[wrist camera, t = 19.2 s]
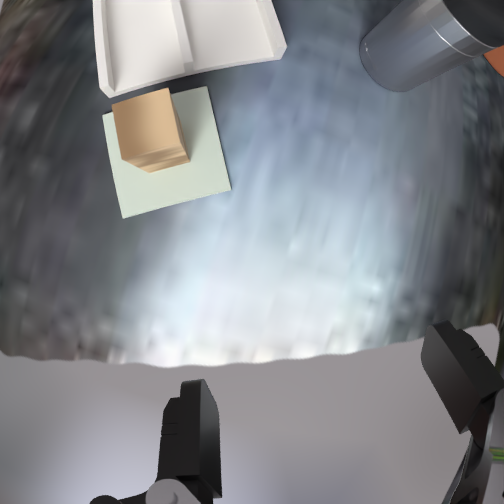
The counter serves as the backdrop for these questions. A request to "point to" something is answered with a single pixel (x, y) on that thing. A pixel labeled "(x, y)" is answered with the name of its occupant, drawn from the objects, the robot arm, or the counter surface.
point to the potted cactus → (496, 59)
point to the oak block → (150, 131)
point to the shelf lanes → (180, 39)
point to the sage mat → (177, 177)
